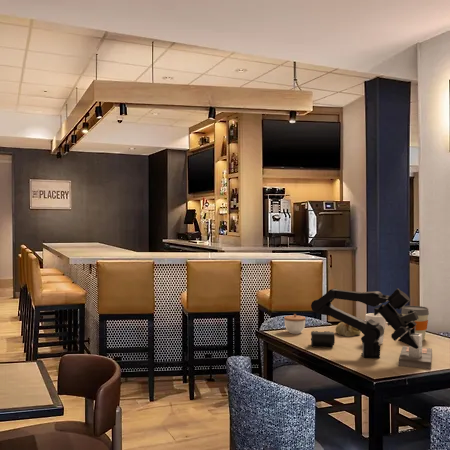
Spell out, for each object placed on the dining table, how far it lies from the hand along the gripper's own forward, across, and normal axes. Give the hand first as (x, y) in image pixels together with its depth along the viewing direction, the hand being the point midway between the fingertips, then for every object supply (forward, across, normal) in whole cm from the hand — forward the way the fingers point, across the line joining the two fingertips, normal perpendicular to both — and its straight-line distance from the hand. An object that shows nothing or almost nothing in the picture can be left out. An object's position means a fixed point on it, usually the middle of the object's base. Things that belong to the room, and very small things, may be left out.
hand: (419, 346), depth 221 cm
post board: (+3, +5, +6) cm, 9 cm away
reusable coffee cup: (-4, +46, +14) cm, 48 cm away
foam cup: (-13, +26, +23) cm, 37 cm away
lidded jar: (-42, +26, +52) cm, 72 cm away
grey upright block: (+2, 0, +4) cm, 4 cm away
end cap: (-26, +6, +36) cm, 45 cm away
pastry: (-26, +38, +36) cm, 58 cm away
